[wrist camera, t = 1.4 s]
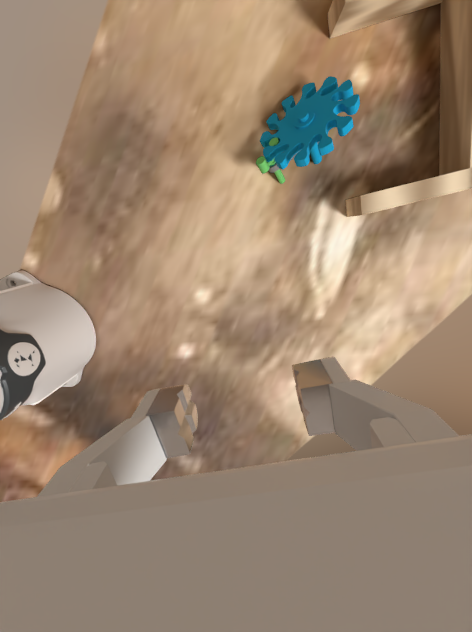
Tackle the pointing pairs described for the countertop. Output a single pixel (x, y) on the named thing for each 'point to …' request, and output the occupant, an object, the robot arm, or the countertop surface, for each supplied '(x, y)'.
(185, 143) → the countertop surface
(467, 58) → the carrier pocket
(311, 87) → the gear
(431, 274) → the countertop surface
